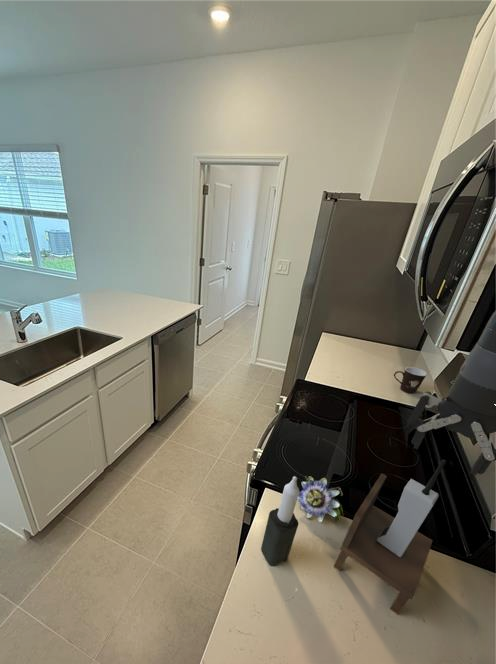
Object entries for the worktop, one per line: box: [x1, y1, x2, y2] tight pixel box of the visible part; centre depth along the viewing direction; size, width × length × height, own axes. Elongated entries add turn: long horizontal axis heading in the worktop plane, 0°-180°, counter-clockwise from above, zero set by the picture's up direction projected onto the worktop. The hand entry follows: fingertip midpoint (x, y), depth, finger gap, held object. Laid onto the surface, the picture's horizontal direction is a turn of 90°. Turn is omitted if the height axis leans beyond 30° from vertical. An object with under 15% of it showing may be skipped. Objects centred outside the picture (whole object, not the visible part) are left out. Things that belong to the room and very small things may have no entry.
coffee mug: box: [393, 366, 428, 395], centre depth 142 cm, size 12×9×10 cm
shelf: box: [333, 473, 433, 615], centre depth 66 cm, size 16×14×18 cm
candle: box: [260, 475, 300, 567], centre depth 65 cm, size 5×5×25 cm
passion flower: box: [297, 475, 344, 523], centre depth 81 cm, size 11×11×12 cm
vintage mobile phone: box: [377, 459, 447, 557], centre depth 60 cm, size 4×5×25 cm
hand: (443, 458), depth 54 cm, fingers open, 8 cm apart
